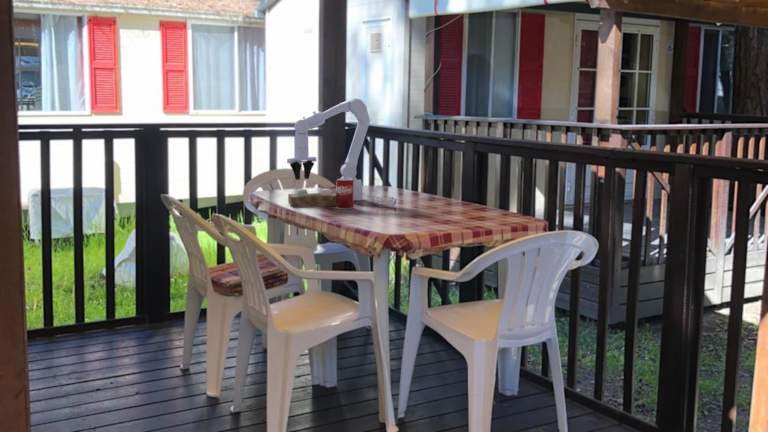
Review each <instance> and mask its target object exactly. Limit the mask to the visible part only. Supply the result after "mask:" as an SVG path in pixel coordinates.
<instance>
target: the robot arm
mask: <svg viewBox="0 0 768 432" xmlns="http://www.w3.org/2000/svg"><path fill="white" fill-rule="evenodd" d="M342 112H343V113H350V112H351V113H352V115H354V118H355V119H356V121H357V125H356V129H355V131H354V135H353V138H352V141H351V144H350V148H349V150H348V153H347V156H346V159H345V161H344V163H343V164H342V165H341V167H340V170H339V171H340V174H341V177H340V178H350V179H353V180H354V202H355V201H363V182H362V179H357V177H356V176H357V166H358V160H359V157H360V153H361V151H362V148H363V145H364V143H365V138H366V135H367V131H368V129H369V126H370V122H371V120H370V115H369V112H368V107H367V106H366V104H365V103H364V101H363V100H362V99H359V98H352V99H350V100H346V101H343V102H340V103H339V104H337V105H334V106H332V107H330V108H329V109H327V110H325V111H323V112H321V111H319V110H317V111H315V110H314V111H313V112H312V114H310V115H308V116H303V117H302V119H298V120H297V121H296V122H295V124H294V130H295V132H294V136H295V137H294V155H295V156H294V157H291V158H287V159H286V160H287V161H286V162H287V164H289V165H290V167H291V169H292V172H293V175H294V177H295V180H296V181H300V179H301V167H302V166H303V171H304V172H303V175H304V176H303V178H304V179H306V180H309V178H310V174H311V171H312V169H313V167H314V165H315V162H317V156H309V153H310V151H309V136H308V131H309V130H312V129H315V128H317V127H319V126H321V125H323V124H325V123H326V121H325V120H327V119H329V118H332V117H333V116H336V115H338V114H340V113H342ZM301 163H302V164H301Z"/></svg>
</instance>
